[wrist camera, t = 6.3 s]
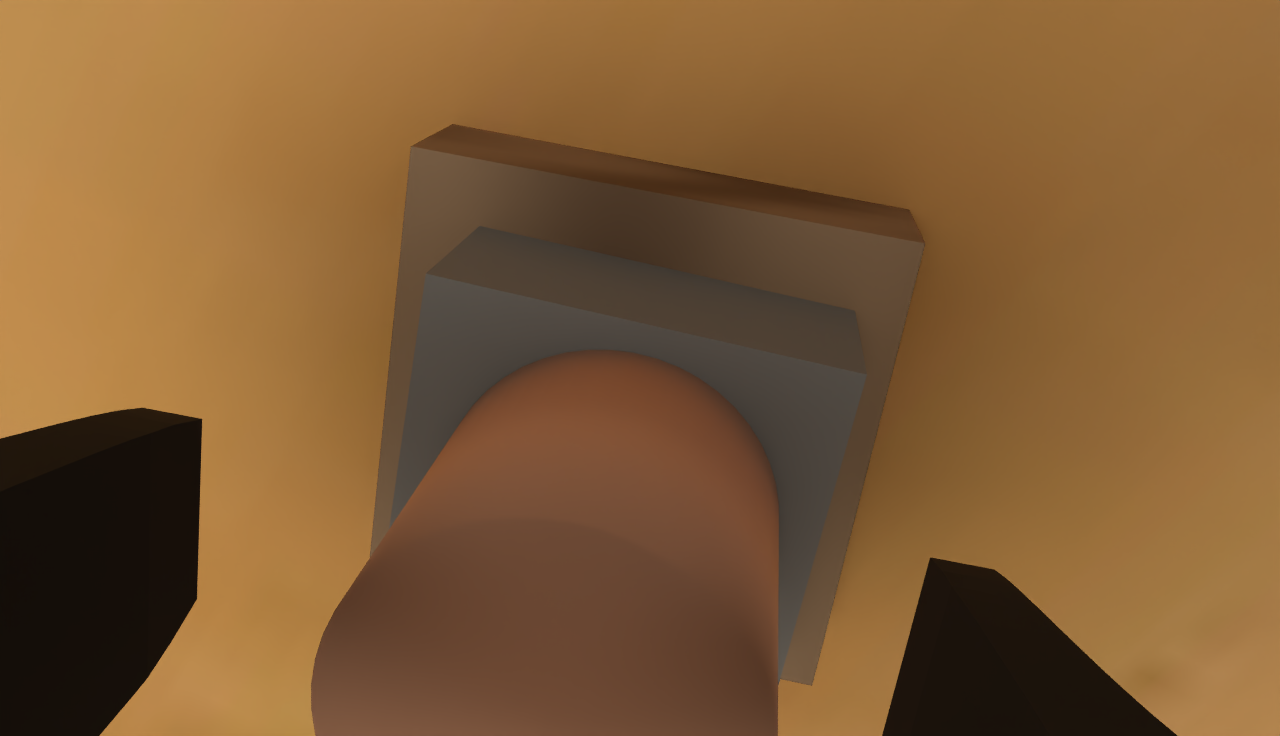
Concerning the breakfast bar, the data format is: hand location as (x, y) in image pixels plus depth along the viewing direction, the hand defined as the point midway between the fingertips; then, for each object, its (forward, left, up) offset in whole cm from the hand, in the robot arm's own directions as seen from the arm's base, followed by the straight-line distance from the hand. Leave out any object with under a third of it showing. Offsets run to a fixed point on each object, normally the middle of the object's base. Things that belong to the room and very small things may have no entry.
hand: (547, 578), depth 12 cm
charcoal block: (0, +2, -8) cm, 8 cm away
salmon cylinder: (0, +2, -5) cm, 5 cm away
